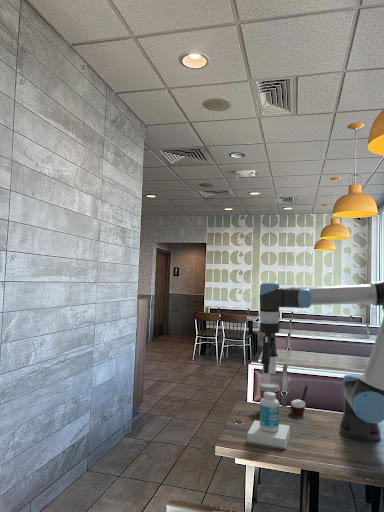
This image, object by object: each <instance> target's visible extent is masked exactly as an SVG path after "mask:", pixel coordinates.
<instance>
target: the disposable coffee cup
mask: <svg viewBox="0 0 384 512" xmlns="http://www.w3.org/2000/svg"><path fill="white" fill-rule="evenodd" d="M258 388H259V391H260V400H261V399H262V398H264V392H273V393H275V394H276V398H275V399H277V400H278V401H279V393H280V390H281V388H280V385H279V384H278V383H274V382H265V381H264V382H261V383H260V384H259V386H258Z"/></svg>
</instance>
